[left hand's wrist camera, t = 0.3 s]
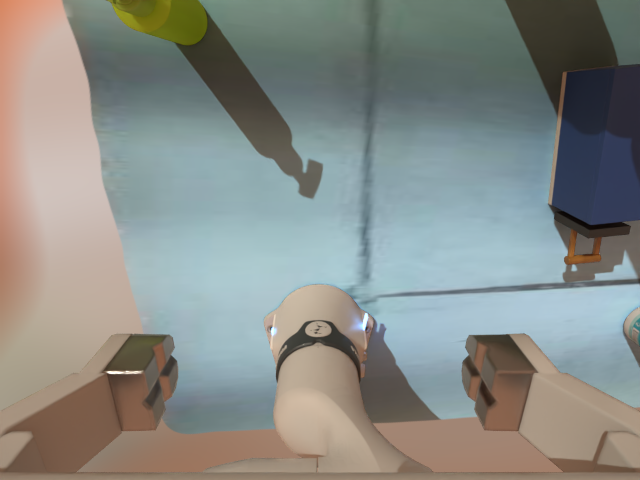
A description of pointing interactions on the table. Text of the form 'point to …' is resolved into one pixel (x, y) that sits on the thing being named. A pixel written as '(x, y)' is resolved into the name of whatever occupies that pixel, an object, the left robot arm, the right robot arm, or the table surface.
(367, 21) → the table surface
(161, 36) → the soap dispenser
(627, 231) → the drawer
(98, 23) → the table surface
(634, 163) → the cabinet
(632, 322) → the pill bottle
